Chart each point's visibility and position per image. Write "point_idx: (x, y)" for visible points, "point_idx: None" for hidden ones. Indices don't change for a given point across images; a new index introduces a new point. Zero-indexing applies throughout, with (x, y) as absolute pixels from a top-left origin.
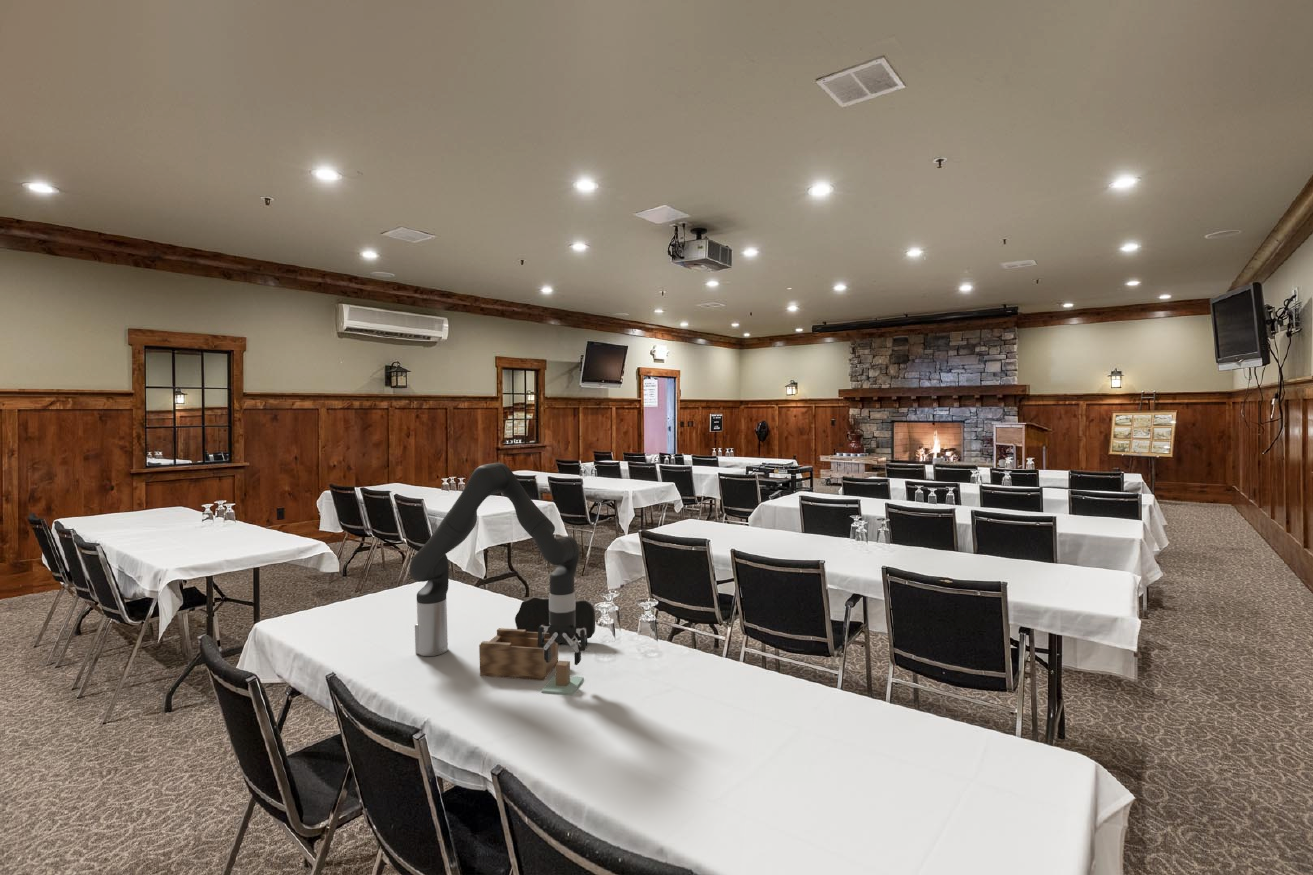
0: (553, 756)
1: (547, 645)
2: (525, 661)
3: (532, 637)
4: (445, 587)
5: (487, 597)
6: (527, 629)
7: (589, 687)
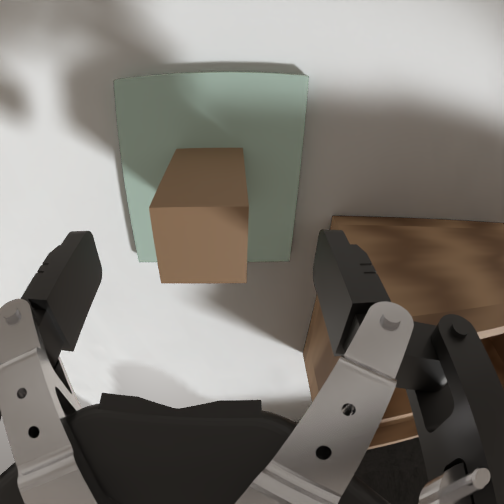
0: None
1: (377, 348)
2: (453, 270)
3: None
4: None
5: None
6: None
7: (74, 182)
